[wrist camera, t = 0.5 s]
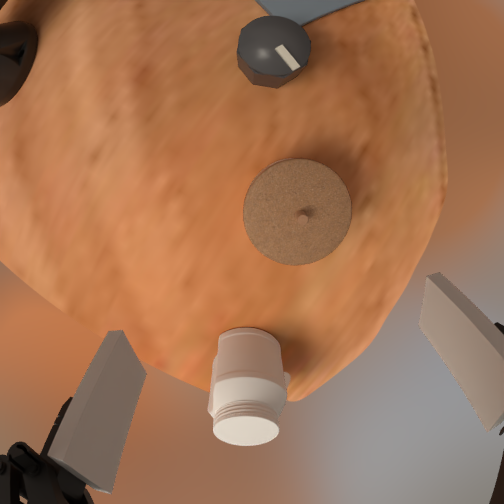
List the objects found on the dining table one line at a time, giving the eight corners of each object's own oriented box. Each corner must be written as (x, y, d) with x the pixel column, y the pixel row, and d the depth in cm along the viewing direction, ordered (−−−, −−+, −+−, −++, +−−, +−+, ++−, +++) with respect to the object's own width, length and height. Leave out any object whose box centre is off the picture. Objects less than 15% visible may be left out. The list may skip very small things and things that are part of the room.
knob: (228, 55, 26) (223, 35, 20) (275, 27, 25) (282, 4, 18) (263, 97, 28) (267, 87, 22) (310, 69, 27) (325, 53, 21)
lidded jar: (232, 166, 32) (227, 178, 23) (320, 145, 31) (347, 149, 22) (256, 248, 36) (260, 285, 27) (337, 227, 35) (364, 257, 26)
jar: (223, 321, 40) (215, 403, 27) (285, 332, 42) (299, 412, 28) (210, 371, 45) (202, 445, 31) (264, 380, 46) (269, 452, 32)
